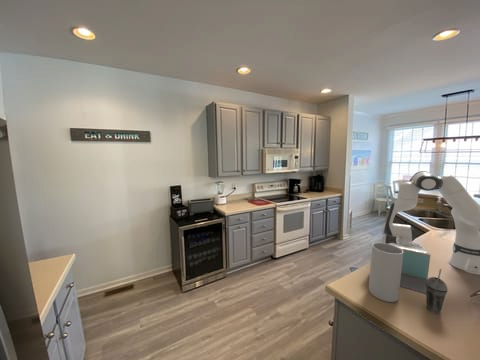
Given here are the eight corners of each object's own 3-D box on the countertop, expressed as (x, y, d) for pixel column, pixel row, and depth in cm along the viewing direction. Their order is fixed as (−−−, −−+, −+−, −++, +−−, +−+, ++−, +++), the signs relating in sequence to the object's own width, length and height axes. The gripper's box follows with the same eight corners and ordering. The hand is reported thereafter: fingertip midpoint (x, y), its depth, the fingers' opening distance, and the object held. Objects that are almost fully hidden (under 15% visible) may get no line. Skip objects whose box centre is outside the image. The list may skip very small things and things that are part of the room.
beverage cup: (418, 304, 95) (422, 265, 92) (432, 303, 95) (437, 264, 93) (434, 316, 87) (439, 274, 85) (449, 315, 88) (455, 273, 86)
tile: (426, 277, 116) (429, 253, 114) (427, 279, 114) (430, 255, 113) (394, 269, 124) (396, 247, 123) (394, 271, 123) (397, 248, 121)
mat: (431, 281, 113) (431, 280, 113) (439, 297, 99) (440, 296, 99) (392, 271, 122) (392, 270, 122) (394, 284, 109) (394, 284, 109)
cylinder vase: (363, 286, 108) (366, 242, 105) (386, 286, 108) (390, 242, 105) (378, 302, 96) (383, 253, 93) (404, 303, 95) (410, 254, 92)
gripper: (387, 239, 144) (389, 246, 133) (425, 246, 133) (430, 254, 121) (386, 247, 145) (388, 254, 133) (424, 254, 134) (429, 264, 122)
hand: (408, 254), depth 127 cm, fingers closed
